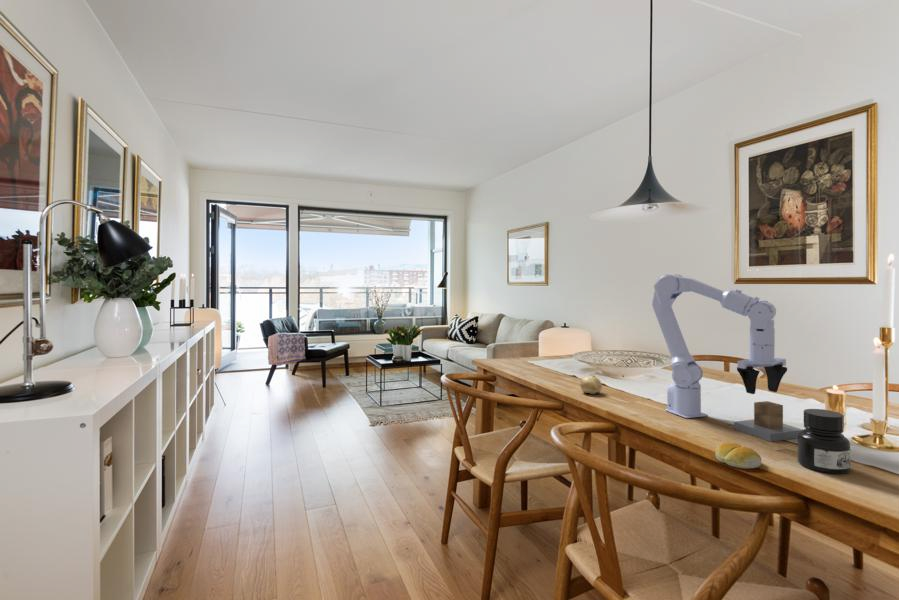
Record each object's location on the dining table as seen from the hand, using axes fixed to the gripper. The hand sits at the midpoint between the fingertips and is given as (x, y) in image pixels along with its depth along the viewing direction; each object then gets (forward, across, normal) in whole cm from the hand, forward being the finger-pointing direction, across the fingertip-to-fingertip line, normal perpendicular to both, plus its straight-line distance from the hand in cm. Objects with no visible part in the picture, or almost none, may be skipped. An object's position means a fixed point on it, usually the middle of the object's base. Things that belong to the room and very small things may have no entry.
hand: (761, 392), depth 127 cm
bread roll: (+10, -27, -18) cm, 34 cm away
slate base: (+10, -3, -5) cm, 11 cm away
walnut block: (+8, -3, -5) cm, 10 cm away
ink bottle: (+10, -12, -26) cm, 30 cm away
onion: (+10, -24, +50) cm, 56 cm away
